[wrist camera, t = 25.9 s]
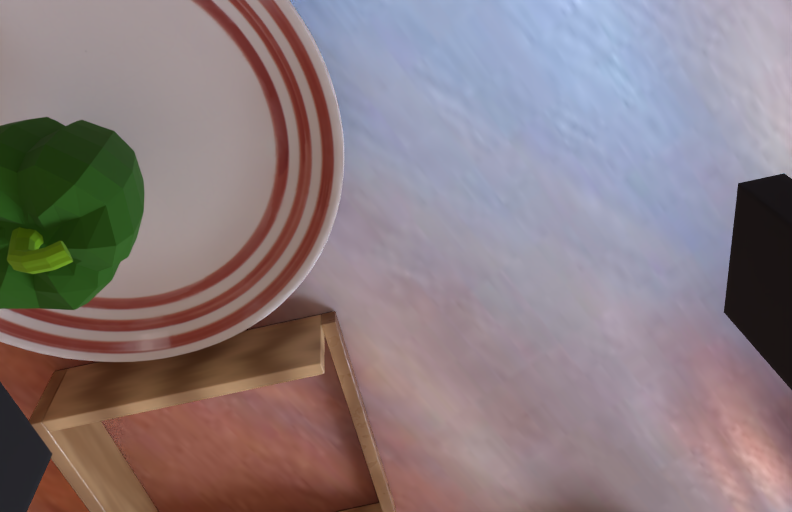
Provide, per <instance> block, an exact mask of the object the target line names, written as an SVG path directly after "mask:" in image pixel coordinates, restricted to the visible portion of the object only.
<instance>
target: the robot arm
mask: <svg viewBox="0 0 792 512" xmlns="http://www.w3.org/2000/svg"><path fill="white" fill-rule="evenodd" d="M724 313H725V314H726V315H727V316H728V317H729V318H730V320H731V321H732V322H733V323H734V324H735V325H736V327H737V328H738V329H739V330H740V331H741V332H742V333H743V335H744V336H745V337H746V338H747V339H748V340H749V341H750V343H751V344H752V345H753V346H754V347H755V348H756V350H757V351H758V352H759V353H760V354H761V355H762V356H763V358H764V359H765V360H766V361H767V362H768V363H769V364H770V366H771V367H772V368H773V369H774V370H775V371H776V373H777V374H778V375H779V376H780V377H781V378H782V379H783V381H784V382H785V383H786V384H787V385H788V386H789V387H790V389H791V390H792V179H791V178H790V177H788V176H787V175H785V174H780V175H775V176H771V177H766V178H761V179H757V180H752V181H747V182H743V183H738V191H737V200H736V209H735V218H734V227H733V236H732V245H731V254H730V263H729V272H728V281H727V290H726V299H725V308H724ZM51 456H52V452H51V451H50V450H49V448H48V447H47V446H46V444H45V443H44V441H43V440H42V439H41V437H40V436H39V435H38V433H37V432H36V430H35V429H34V428H33V426H32V425H31V424H30V422H29V421H28V419H27V418H26V417H25V415H24V414H23V412H22V411H21V410H20V408H19V407H18V406H17V404H16V403H15V401H14V400H13V399H12V397H11V396H10V395H9V393H8V392H7V390H6V389H5V388H4V386H3V385H2V384H1V382H0V512H27V510H28V508H29V505H30V503H31V501H32V499H33V496H34V494H35V492H36V490H37V488H38V485H39V483H40V481H41V479H42V476H43V474H44V472H45V470H46V467H47V465H48V463H49V461H50V458H51Z"/></svg>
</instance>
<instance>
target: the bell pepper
mask: <svg viewBox="0 0 792 512" xmlns="http://www.w3.org/2000/svg"><path fill="white" fill-rule="evenodd" d="M144 195H145V192H144V180H143V177H142V174H141V171H140V167H139V164H138V161H137V158H136V155H135V152H134V150H133V149H132V148H131V147H130V146H129V145H128V144H127V143H126V142H125V141H124V140H123V139H122V138H121V137H120V136H119V135H118V134H117V133H116V132H115V131H113V130H110V129H107V128H104V127H101V126H99V125H96V124H93V123H90V122H87V121H84V120H79V121H76V122H73V123H71V124H69V125H67V126H65V125H63V124H61V123H59V122H58V121H56V120H53V119H51V118H49V117H42V118H35V119H28V120H23V121H18V122H13V123H8V124H5V125H1V126H0V309H37V308H40V309H61V310H76V309H78V308H79V307H81V306H83V305H85V304H87V303H88V302H90V301H91V300H92V299H93V298H94V297H95V296H96V295H97V294H98V293H99V292H100V291H101V290H102V289H103V288H104V287H105V286H106V285H108V284H109V283H110V282H111V281H112V280H113V277H114V275H115V273H116V271H117V268H118V266H119V264H120V262H121V261H123V260H124V259H126V258H128V257H129V255H130V252H131V250H132V248H133V245H134V243H135V241H136V239H137V236H138V232H139V228H140V224H141V221H142V217H143V213H144Z"/></svg>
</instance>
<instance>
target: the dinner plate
mask: <svg viewBox="0 0 792 512" xmlns="http://www.w3.org/2000/svg"><path fill="white" fill-rule="evenodd" d="M42 117H49V118H51V119H53V120H56V121H58V122H59V123H61V124H63V125H65V126H67V125H69V124H71V123H73V122H76V121H79V120H84V121H87V122H90V123H93V124H96V125H99V126H101V127H104V128H107V129H110V130H113V131H115V132H116V133H117V134H118V135H119V136H120V137H121V138H122V139H123V140H124V141H125V142H126V143H127V144H128V145H129V146H130V147H131V148H132V149H133V150H134V152H135V155H136V158H137V161H138V164H139V167H140V171H141V174H142V177H143V180H144V192H145V195H144V213H143V217H142V221H141V224H140V228H139V232H138V236H137V239H136V241H135V243H134V245H133V248H132V250H131V252H130V255H129V257H128V258H126V259H124V260H123V261H121V262H120V264H119V266H118V268H117V271H116V273H115V275H114V277H113V280H112V281H111V282H110V283H109V284H108V285H106V286H105V287H104V288H103V289H102V290H101V291H100V292H99V293H98V294H97V295H96V296H95V297H94V298H93V299H92V300H91V301H90V302H88V303H87V304H85V305H83V306H81V307H79V308H78V309H76V310H61V309H40V308H37V309H0V342H3V343H6V344H9V345H12V346H16V347H19V348H22V349H25V350H29V351H33V352H37V353H41V354H46V355H51V356H56V357H61V358H68V359H76V360H87V361H100V362H137V361H147V360H156V359H163V358H168V357H174V356H178V355H182V354H186V353H190V352H194V351H197V350H200V349H203V348H206V347H209V346H212V345H215V344H218V343H220V342H222V341H224V340H227V339H229V338H231V337H233V336H235V335H237V334H239V333H241V332H243V331H245V330H246V329H248V328H250V327H251V326H253V325H254V324H256V323H257V322H259V321H261V320H262V319H264V318H265V317H266V316H268V315H269V314H270V313H271V312H273V311H274V310H275V309H276V308H277V307H279V306H280V305H281V304H282V303H283V302H284V301H285V300H286V299H287V298H288V297H289V296H290V295H291V294H292V293H293V292H294V291H295V290H296V289H297V288H298V286H299V285H300V284H301V283H302V281H303V280H304V279H305V278H306V276H307V275H308V273H309V272H310V271H311V269H312V268H313V266H314V264H315V263H316V261H317V260H318V258H319V256H320V254H321V252H322V250H323V248H324V246H325V244H326V242H327V240H328V238H329V235H330V232H331V229H332V227H333V224H334V221H335V218H336V214H337V211H338V207H339V202H340V197H341V191H342V184H343V174H344V137H343V128H342V122H341V116H340V110H339V105H338V101H337V97H336V94H335V90H334V87H333V84H332V81H331V78H330V75H329V72H328V70H327V67H326V65H325V62H324V60H323V58H322V55H321V53H320V51H319V49H318V46H317V44H316V42H315V40H314V38H313V37H312V35H311V33H310V31H309V30H308V28H307V26H306V25H305V23H304V21H303V20H302V18H301V17H300V15H299V14H298V12H297V11H296V9H295V8H294V6H293V5H292V4H291V2H290V1H289V0H0V126H1V125H5V124H8V123H13V122H18V121H23V120H28V119H35V118H42Z"/></svg>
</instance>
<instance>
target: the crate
mask: <svg viewBox="0 0 792 512" xmlns="http://www.w3.org/2000/svg"><path fill="white" fill-rule="evenodd" d="M324 335H325V338H326V341H327V344H328V347H329V350H330V353H331V356H332V359H333V363H334V366H335V369H336V372H337V375H338V378H339V381H340V384H341V387H342V390H343V393H344V396H345V399H346V402H347V405H348V408H349V411H350V414H351V417H352V420H353V423H354V426H355V430H356V433H357V436H358V439H359V442H360V445H361V448H362V451H363V454H364V457H365V460H366V463H367V466H368V469H369V472H370V475H371V478H372V481H373V484H374V487H375V490H376V493H377V497H378V500H379V503H376V504H372V505H367V506H362V507H357V508H352V509H347V510H343V511H338V512H396V507H395V504H394V500H393V497H392V494H391V491H390V487H389V484H388V481H387V478H386V475H385V471H384V468H383V465H382V462H381V458H380V455H379V452H378V449H377V445H376V442H375V439H374V436H373V432H372V429H371V426H370V423H369V419H368V416H367V413H366V410H365V406H364V403H363V400H362V397H361V393H360V390H359V387H358V384H357V380H356V377H355V374H354V371H353V368H352V364H351V361H350V358H349V355H348V351H347V348H346V345H345V342H344V338H343V335H342V332H341V329H340V325H339V322H338V319H337V316H336V312H335V311H334V312H329V313H324V314H321V315H316V316H312V317H307V318H302V319H298V320H293V321H288V322H284V323H279V324H274V325H270V326H265V327H260V328H256V329H251V330H246V331H243V332H241V333H239V334H237V335H235V336H233V337H231V338H229V339H227V340H224V341H222V342H220V343H218V344H215V345H212V346H209V347H206V348H203V349H200V350H197V351H194V352H190V353H186V354H182V355H178V356H174V357H168V358H163V359H156V360H147V361H137V362H97V363H92V364H87V365H83V366H78V367H73V368H69V369H64V370H59V371H55V372H54V373H53V375H52V377H51V379H50V381H49V383H48V385H47V386H46V388H45V390H44V392H43V394H42V396H41V398H40V400H39V402H38V404H37V406H36V408H35V410H34V412H33V414H32V416H31V418H30V419H29V422H30V424H31V425H32V426H33V428H34V429H35V430H36V432H37V433H38V435H39V436H40V437H41V439H42V440H43V441H44V443H45V444H46V446H47V447H48V448H49V450H50V451H51V452H52V456H51V459H52V461H53V462H54V463H55V465H56V466H57V467H58V469H59V470H60V472H61V473H62V474H63V476H64V477H65V478H66V480H67V481H68V482H69V484H70V485H71V487H72V488H73V489H74V491H75V492H76V493H77V495H78V496H79V498H80V499H81V500H82V502H83V503H84V504H85V506H86V507H87V508H88V510H89V511H90V512H158V510H157V509H156V507H155V506H154V504H153V502H152V501H151V499H150V498H149V496H148V495H147V493H146V491H145V490H144V488H143V487H142V485H141V484H140V482H139V480H138V479H137V477H136V476H135V474H134V473H133V471H132V469H131V468H130V466H129V465H128V463H127V462H126V460H125V458H124V457H123V455H122V454H121V452H120V451H119V449H118V447H117V446H116V444H115V443H114V441H113V440H112V438H111V436H110V435H109V433H108V432H107V430H106V429H105V427H104V425H103V424H102V422H101V421H103V420H108V419H113V418H118V417H122V416H127V415H132V414H137V413H141V412H146V411H151V410H155V409H160V408H165V407H170V406H174V405H179V404H184V403H188V402H193V401H198V400H203V399H207V398H212V397H217V396H222V395H226V394H231V393H236V392H240V391H245V390H250V389H255V388H259V387H264V386H269V385H273V384H278V383H283V382H288V381H292V380H297V379H302V378H306V377H311V376H316V375H321V374H324Z"/></svg>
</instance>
